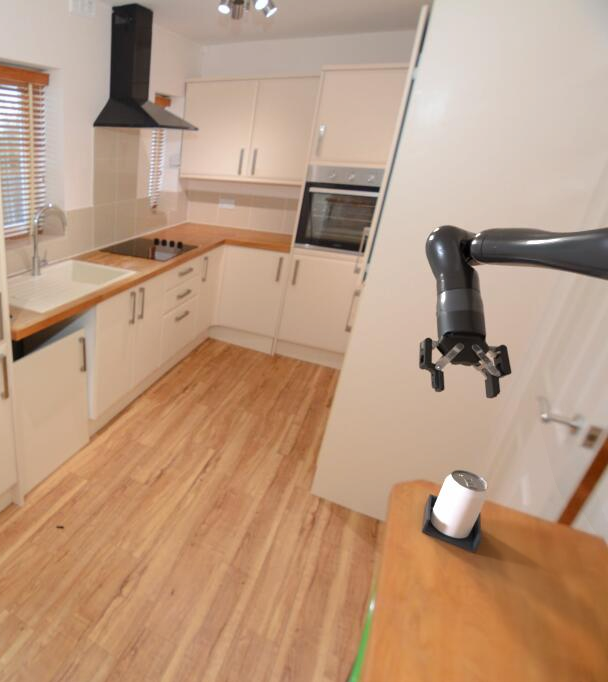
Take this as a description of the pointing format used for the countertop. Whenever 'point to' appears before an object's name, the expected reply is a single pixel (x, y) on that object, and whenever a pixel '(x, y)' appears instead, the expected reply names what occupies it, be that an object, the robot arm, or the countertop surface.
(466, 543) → the tray
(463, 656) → the countertop surface
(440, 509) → the can
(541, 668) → the countertop surface
